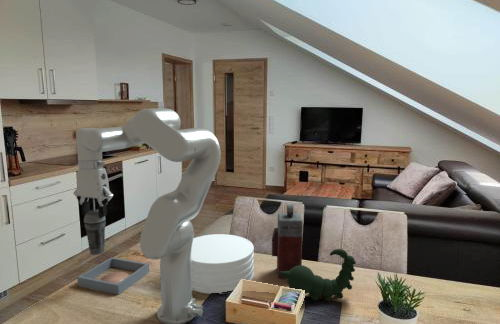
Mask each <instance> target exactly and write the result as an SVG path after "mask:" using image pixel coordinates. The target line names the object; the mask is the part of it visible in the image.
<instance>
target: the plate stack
mask: <svg viewBox="0 0 500 324" xmlns="http://www.w3.org/2000/svg"><path fill="white" fill-rule="evenodd" d="M254 247H255V246H254V244H253V243H252V242H251V241H250V240H249V239H247V238H245V237H242V236H239V235H234V234H227V233H226V234H224V233H219V234H218V233H216V234H215V233H214V234H207V235H206V234H205V235H201V236H197V237H193V244H192V253H191V265H192V266H191V269H192V291H195V292H198V293H201V294H202V293H203V294H211V293H219V294H223V293H222V292H227V291H232V290H233V289H234V288H235V287H236V285H237V284H238V283H239V281H240V280H241V279H246V280H252V281H253V279H254V275H255V273H254V272H255V271H254V269H255V268H254V267H255V266H254V264H255V262H254V259H255V258H254V256H255V254H254V251H255V248H254ZM232 292H233V291H232ZM211 295H212V294H211Z"/></svg>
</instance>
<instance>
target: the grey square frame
mask: <svg viewBox="0 0 500 324" xmlns="http://www.w3.org/2000/svg"><path fill="white" fill-rule="evenodd" d="M111 268H118V269H123V270H130V271H134V272H132V273H131V274H130V275H129V273H127V272H124V271H115V272H110V273H109V274H105V275H104V276H103V277H102V278H101V279H97V277H99V276H100V275H101V274H102V273H105V272H107V270H109V269H111ZM149 273H150V263H146V262H141V261H135V260H131V259H130V260H129V259H124V258H118V257H114V256H113V257H112V256H111V257H109V258H107V259H106V260H104V261H103V262H101V263H99V264H97V265H96V266H94V267H92V268H91V269H89V270H87V271H86V272H84V273H82V274H80V275H78V276H77V286H78V287H81V288H86V289H91V290H95V291H99V292H103V293H108V294H109V293H110V294H114V295H121V294H122V293H123V292H125V291H126V290H127V289H129V288H130V287H132V286H133V285H134V284H135V283H137V282H138V281H140V280H141V279H142V278H143V277H145V276H146V275H147V274H149Z"/></svg>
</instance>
